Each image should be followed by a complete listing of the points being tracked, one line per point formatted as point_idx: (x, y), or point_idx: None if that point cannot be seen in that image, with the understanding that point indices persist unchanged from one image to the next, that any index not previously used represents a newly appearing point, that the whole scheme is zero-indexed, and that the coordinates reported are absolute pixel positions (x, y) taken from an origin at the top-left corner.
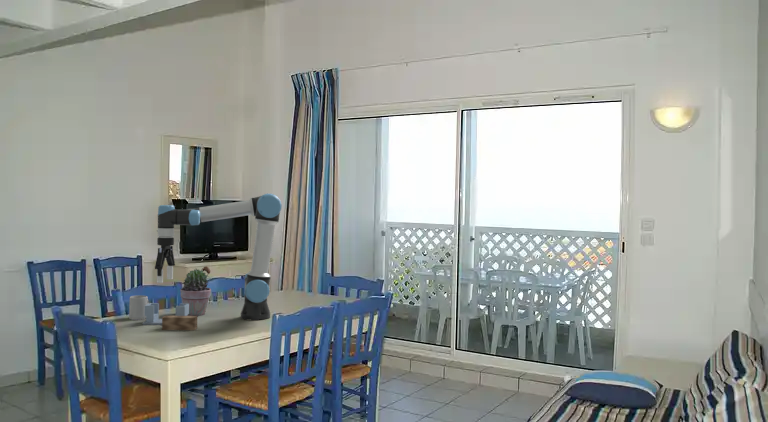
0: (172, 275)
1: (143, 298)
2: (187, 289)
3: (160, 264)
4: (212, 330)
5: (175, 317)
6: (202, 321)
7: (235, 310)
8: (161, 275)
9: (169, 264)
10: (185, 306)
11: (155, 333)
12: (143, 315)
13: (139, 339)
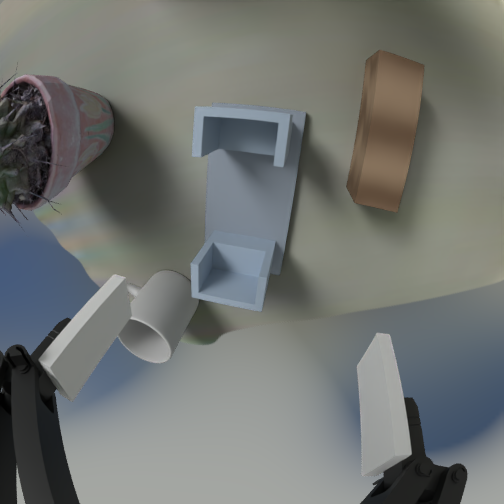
0: (101, 296)
1: (158, 327)
2: (39, 171)
3: (459, 500)
4: (404, 12)
5: (410, 152)
6: (217, 54)
7: (46, 32)
8: (397, 399)
9: (46, 395)
10: (273, 112)
11: (436, 212)
12: (182, 285)
13: (490, 250)
